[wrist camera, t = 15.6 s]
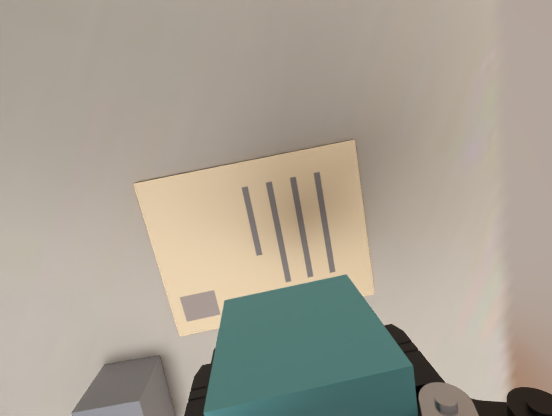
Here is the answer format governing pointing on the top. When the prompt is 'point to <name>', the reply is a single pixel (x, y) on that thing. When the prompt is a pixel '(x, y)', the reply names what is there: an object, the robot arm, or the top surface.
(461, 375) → the top surface
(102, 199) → the top surface
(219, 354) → the teal cube
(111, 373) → the grey rectangular box
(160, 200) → the letter
